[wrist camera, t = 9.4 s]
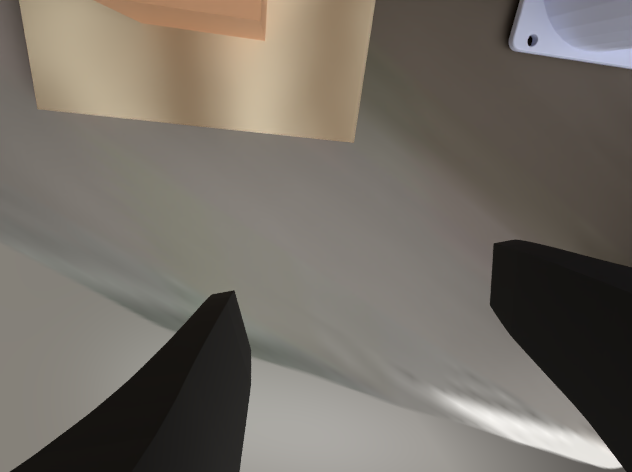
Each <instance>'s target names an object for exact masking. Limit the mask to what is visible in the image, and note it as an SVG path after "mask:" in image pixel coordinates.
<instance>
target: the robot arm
mask: <svg viewBox="0 0 632 472" xmlns="http://www.w3.org/2000/svg"><path fill="white" fill-rule="evenodd" d="M529 36H531V37H532V44H531V45H530V46H528V43H527V41H528V38H529ZM509 47H510V48H511V50H513V51H516V52H522V53H529V54H536V55H542V56H549V57H555V58H562V59H568V60H575V61H581V62H588V63H594V64H601V65H607V66H614V67H620V68H627V69H632V0H520V2H519V5H518V9H517V12H516V16H515V19H514V23H513V26H512V30H511V33H510V37H509ZM490 306H491V308H492V309H493V311H494V312H495V314H496V315H497V317H498V318H499V320H500V321H501V323H502V324H503V326H504V327H505V328H506V330H507V331H508V332H509V334H510V335H511V336H512V337H513V339H514V340H515V341H516V342H517V343H518V344H519V345H520V346H521V348H522V349H523V350H524V351H525V352H526V353H527V354H528V355H529V356H530V358H531V359H532V360H533V361H534V362H535V363H536V364H537V365H538V366H539V367H540V368H541V370H542V371H543V372H544V373H545V374H546V375H547V376H548V377H549V378H550V379H551V380H552V381H553V383H554V384H555V385H556V386H557V387H558V388H559V389H560V390H561V391H562V392H563V393H564V394H565V396H566V397H567V398H568V399H569V400H570V401H571V402H572V403H573V404H574V405H575V407H576V408H577V409H578V410H579V411H580V412H581V414H582V415H583V416H584V417H585V418H586V419H587V421H588V422H589V423H590V424H591V426H592V427H593V428H594V430H595V431H596V432H597V434H598V435H599V436H600V437H601V439H602V440H603V441H604V443H605V444H606V445H607V447H608V448H609V449H610V451H611V452H612V453H613V454H614V456H615V457H616V458H617V460H618V461H619V462H620V464H621V465H622V466H623V468H624V469H625V470H626V472H632V268H631V267H627V266H623V265H619V264H615V263H611V262H607V261H603V260H599V259H596V258H592V257H588V256H584V255H580V254H577V253H573V252H569V251H565V250H561V249H557V248H554V247H550V246H546V245H541V244H537V243H532V242H528V241H522V240H510V241H505V242H499V243H494V248H493V264H492V280H491V296H490ZM250 387H251V348H250V345H249V341H248V337H247V334H246V330H245V327H244V323H243V320H242V316H241V312H240V309H239V305H238V302H237V298H236V295H235V291H228V292H223V293H217V294H212V295H211V296H210V297H209V298H208V299H207V300H206V301H205V302H204V303H203V304H202V305H201V306H200V307H199V308H198V309H197V311H196V312H195V313H194V314H193V315H192V316H191V317H190V318H189V319H188V321H187V322H186V323H185V324H184V325H183V326H182V327H181V328H180V329H179V330H178V331H177V332H176V334H175V335H174V336H173V337H172V338H171V339H170V340H169V341H168V342H167V343H166V344H165V345H164V346H163V347H162V348H161V349H160V350H159V351H158V352H157V353H156V354H155V355H154V356H153V357H152V358H151V359H150V360H149V361H148V362H147V363H146V364H145V365H144V366H143V367H142V368H141V369H140V370H139V371H138V372H137V373H136V374H135V375H134V376H133V377H131V379H130V380H128V381H127V382H126V383H125V384H124V385H123V386H122V387H120V388H119V389H118V390H117V391H116V392H115V393H113V394H112V395H111V396H110V397H109V398H107V399H106V400H105V401H104V402H103V403H101V404H100V405H99V406H98V407H97V408H96V409H94V410H93V411H92V412H91V413H90V414H88V415H87V416H86V417H84V418H83V419H82V420H80V421H79V422H78V423H76V424H75V425H74V426H72V427H71V428H70V429H68V430H67V431H66V432H64V433H63V434H62V435H60V436H59V437H58V438H56V439H55V440H54V441H52V442H51V443H50V444H48V445H47V446H46V447H44V448H43V449H42V450H40V451H39V452H38V453H36V454H35V455H34V456H32V457H31V458H29V459H28V460H26V461H25V462H24V463H22V464H21V465H19V466H18V467H16V468H15V469H13V470H12V471H10V472H239V470H240V463H241V456H242V448H243V441H244V433H245V426H246V418H247V411H248V403H249V396H250Z"/></svg>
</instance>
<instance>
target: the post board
mask: <svg viewBox="0 0 632 472" xmlns="http://www.w3.org/2000/svg"><path fill="white" fill-rule="evenodd" d="M19 3H20V9H21V15H22V21H23V26H24V32H25V38H26V44H27V50H28V56H29V62H30V67H31V73H32V79H33V85H34V91H35V97H36V102H37V108H38V109H41V110H51V111H60V112H70V113H79V114H88V115H98V116H107V117H117V118H126V119H135V120H145V121H154V122H164V123H173V124H183V125H192V126H201V127H211V128H220V129H230V130H239V131H248V132H258V133H267V134H277V135H286V136H295V137H305V138H314V139H324V140H333V141H343V142H352V143H354V137H355V131H356V124H357V118H358V111H359V105H360V98H361V91H362V85H363V78H364V72H365V65H366V59H367V52H368V45H369V39H370V32H371V26H372V19H373V13H374V6H375V0H267V15H266V33H265V41H262V40H255V39H248V38H241V37H234V36H227V35H220V34H213V33H206V32H199V31H192V30H186V29H179V28H172V27H165V26H158V25H151V24H144V23H140V22H138V21H136V20H134V19H132V18H130V17H128V16H125V15H123V14H121V13H119V12H117V11H115V10H113V9H111V8H109V7H107V6H104V5H102V4H100V3H98V2H96V1H94V0H19Z"/></svg>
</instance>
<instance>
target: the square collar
mask: <svg viewBox="0 0 632 472" xmlns="http://www.w3.org/2000/svg"><path fill="white" fill-rule="evenodd" d="M94 1H96V2H98V3H100V4H102V5H104V6H107V7H109V8H111V9H113V10H115V11H117V12H119V13H121V14H123V15H125V16H128V17H130V18H132V19H134V20H136V21H138V22H140V23H144V24H151V25H158V26H165V27H172V28H179V29H186V30H192V31H199V32H206V33H213V34H220V35H227V36H234V37H241V38H248V39H255V40H262V41H265V33H266V15H267V0H94Z"/></svg>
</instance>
